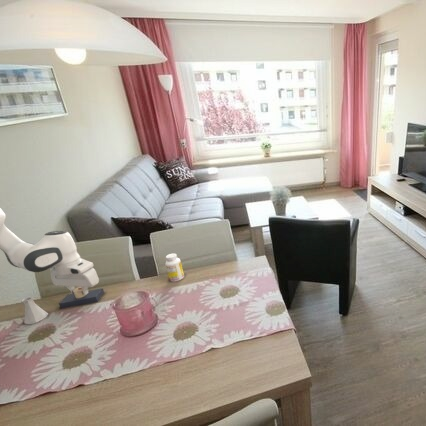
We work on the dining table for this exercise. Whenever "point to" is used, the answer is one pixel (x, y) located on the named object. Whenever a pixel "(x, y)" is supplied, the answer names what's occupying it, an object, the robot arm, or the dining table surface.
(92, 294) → the control panel
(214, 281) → the dining table surface
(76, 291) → the small cream cake
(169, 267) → the supplement bottle
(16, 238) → the robot arm
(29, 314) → the flask
